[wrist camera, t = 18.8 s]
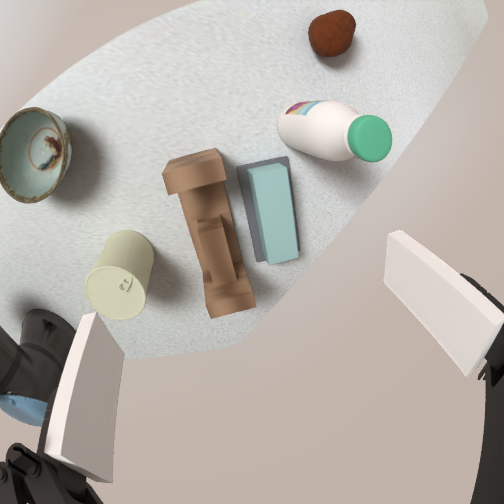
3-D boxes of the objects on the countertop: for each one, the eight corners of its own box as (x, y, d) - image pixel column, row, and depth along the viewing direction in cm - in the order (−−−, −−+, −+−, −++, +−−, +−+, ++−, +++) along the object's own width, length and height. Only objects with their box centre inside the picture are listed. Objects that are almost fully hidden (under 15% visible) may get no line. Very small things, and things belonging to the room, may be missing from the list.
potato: (353, 37, 33) (374, 30, 27) (322, 68, 35) (342, 62, 30) (323, 9, 30) (342, -2, 24) (290, 39, 32) (305, 28, 26)
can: (165, 253, 45) (159, 296, 34) (134, 286, 47) (123, 332, 36) (123, 219, 41) (103, 254, 30) (94, 256, 42) (72, 297, 32)
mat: (256, 260, 49) (257, 262, 48) (236, 166, 41) (237, 167, 40) (298, 249, 50) (300, 250, 49) (286, 156, 41) (287, 156, 41)
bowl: (101, 128, 33) (81, 131, 26) (66, 202, 37) (45, 220, 30) (41, 94, 27) (15, 94, 20) (11, 167, 31) (-15, 179, 24)
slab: (263, 253, 48) (269, 265, 44) (247, 169, 40) (252, 174, 37) (290, 246, 48) (298, 257, 45) (278, 162, 41) (286, 167, 37)
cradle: (206, 281, 49) (210, 318, 40) (169, 160, 38) (161, 173, 29) (244, 271, 49) (256, 306, 41) (215, 148, 39) (221, 157, 30)
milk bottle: (317, 153, 42) (395, 185, 25) (272, 145, 40) (332, 170, 23) (325, 108, 38) (410, 114, 21) (280, 97, 37) (348, 88, 19)
